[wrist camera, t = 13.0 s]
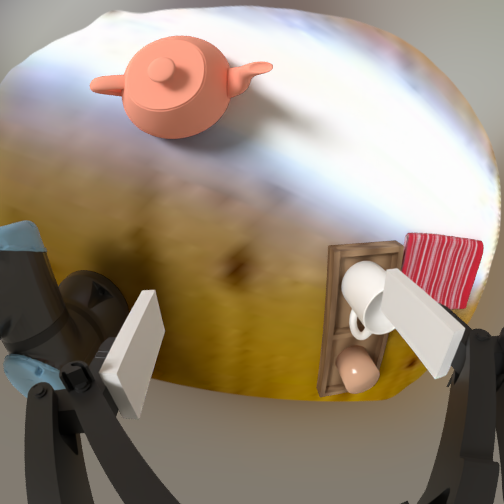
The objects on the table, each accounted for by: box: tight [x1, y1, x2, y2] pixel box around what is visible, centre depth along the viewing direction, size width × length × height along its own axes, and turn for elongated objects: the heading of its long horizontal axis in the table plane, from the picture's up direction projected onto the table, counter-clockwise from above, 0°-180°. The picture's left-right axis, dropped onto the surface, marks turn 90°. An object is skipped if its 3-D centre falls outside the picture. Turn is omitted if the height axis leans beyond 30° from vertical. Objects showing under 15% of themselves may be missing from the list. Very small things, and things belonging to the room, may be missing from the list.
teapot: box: [90, 36, 273, 139], centre depth 30 cm, size 22×15×12 cm
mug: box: [341, 261, 396, 340], centre depth 43 cm, size 12×8×10 cm
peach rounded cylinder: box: [335, 345, 380, 393], centre depth 50 cm, size 7×7×7 cm
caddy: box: [317, 240, 404, 397], centre depth 50 cm, size 13×33×3 cm, turn 3°
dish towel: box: [401, 233, 483, 309], centre depth 49 cm, size 17×24×3 cm
